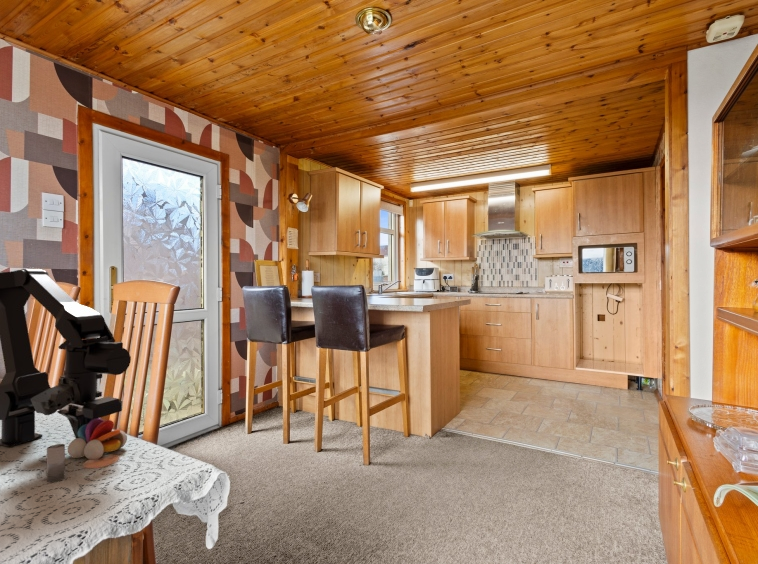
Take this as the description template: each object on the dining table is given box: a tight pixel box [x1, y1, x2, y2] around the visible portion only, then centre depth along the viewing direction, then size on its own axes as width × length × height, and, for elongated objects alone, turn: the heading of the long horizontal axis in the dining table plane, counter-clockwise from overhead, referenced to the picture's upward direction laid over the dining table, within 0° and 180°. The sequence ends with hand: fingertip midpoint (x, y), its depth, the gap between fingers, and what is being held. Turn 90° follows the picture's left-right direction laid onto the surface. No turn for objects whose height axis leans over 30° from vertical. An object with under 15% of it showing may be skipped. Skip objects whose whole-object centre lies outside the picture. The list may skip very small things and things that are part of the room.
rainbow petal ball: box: [67, 418, 128, 460], centre depth 85 cm, size 8×10×7 cm
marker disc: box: [82, 454, 120, 469], centre depth 81 cm, size 6×6×1 cm
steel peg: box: [46, 443, 66, 483], centre depth 74 cm, size 3×3×6 cm
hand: (79, 441), depth 87 cm, fingers closed
